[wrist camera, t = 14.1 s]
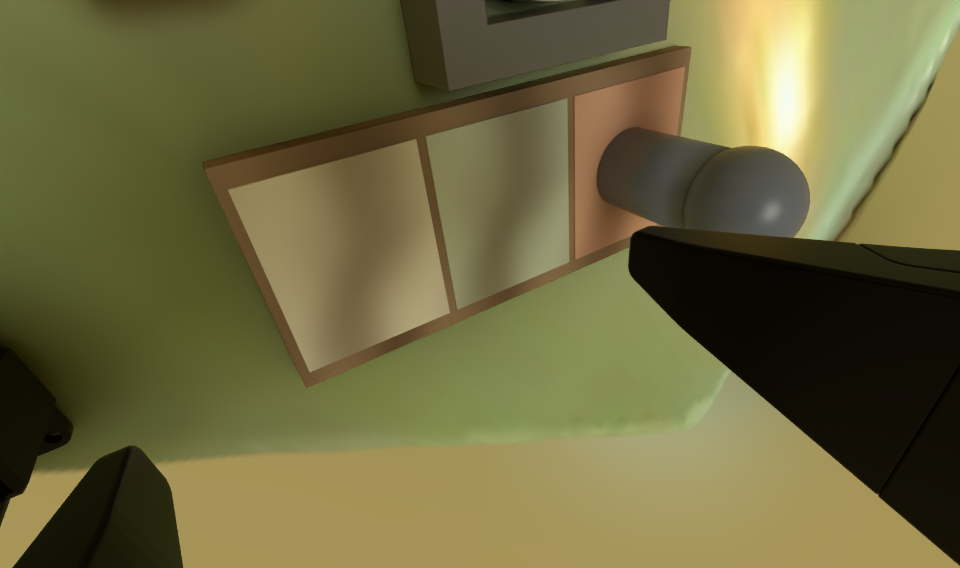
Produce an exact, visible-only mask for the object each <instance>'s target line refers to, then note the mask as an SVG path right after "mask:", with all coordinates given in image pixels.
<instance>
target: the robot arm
mask: <svg viewBox="0 0 960 568" xmlns="http://www.w3.org/2000/svg"><path fill="white" fill-rule="evenodd" d="M628 268H629V272H630V275H631V276H632V278H633V279H634V280H635V281H636V282H637V283H638V284H639V285H640V286H641V287H642V288H643V289H644V290H645V291H646V292H647V293H648V294H649V295H650V296H651V297H652V299H653V300H654V301H655V302H656V303H657V304H658V305H659V306H660V307H661V308H662V309H663V310H664V311H665V312H666V313H667V314H668V315H669V316H670V317H671V318H672V319H673V320H674V321H675V322H676V323H677V324H678V325H679V326H680V327H681V328H682V329H683V330H684V331H686V332H687V333H688V334H689V335H690V336H691V337H692V338H694V339H695V340H696V341H697V342H698V343H699V344H701V345H702V346H703V347H704V348H705V349H706V350H708V351H709V352H710V353H711V354H712V355H714V356H715V357H716V358H717V359H718V360H719V361H721V362H722V363H723V364H724V365H725V366H726V367H728V368H729V369H730V370H731V371H732V372H733V373H735V374H736V375H737V376H738V377H740V378H741V379H742V380H743V381H744V382H745V383H746V384H748V385H749V386H750V387H751V388H753V389H754V390H755V391H756V392H757V393H758V394H760V396H762V397H763V398H764V399H765V400H766V401H768V402H769V403H770V404H771V405H772V406H773V407H775V408H776V409H777V410H778V411H780V412H781V413H782V414H783V415H784V416H785V417H786V418H788V419H789V420H790V421H791V422H792V423H793V424H795V425H796V426H797V427H798V428H799V429H800V430H802V431H803V432H804V433H805V434H806V435H808V436H809V437H810V438H811V439H812V440H813V441H814V442H816V443H817V444H818V445H819V446H821V447H822V448H823V449H824V450H825V451H826V452H827V453H829V454H830V455H831V456H832V457H833V458H834V459H836V460H837V461H838V462H839V463H840V464H842V465H843V466H844V467H845V468H846V469H847V470H849V471H850V472H851V473H852V474H853V475H854V476H856V477H857V478H858V479H859V480H860V481H862V482H863V483H864V484H865V485H866V486H867V487H868V488H870V489H871V490H872V491H873V492H874V493H876V494H878V496H879V497H880V498H881V499H882V500H883V501H884V502H885V503H887V504H888V505H889V506H890V507H891V508H893V509H894V510H895V511H896V512H897V513H898V514H899V515H901V516H902V517H903V518H904V519H906V520H907V521H908V522H909V523H910V524H911V525H912V526H914V527H915V528H916V529H917V530H918V531H919V532H921V533H922V534H923V535H924V536H925V537H926V538H928V539H929V540H930V541H931V542H932V543H934V544H935V545H936V546H937V547H938V548H939V549H941V550H942V551H943V552H944V553H945V554H946V555H948V556H949V557H950V558H951V559H952V560H953V561H955V562H956V563H957V564H958V565H959V566H960V251H957V250H941V249H940V250H939V249H924V248H910V247H897V246H884V245H872V244H859V245H858V244H856V243H848V242H836V241H825V240H813V239H801V238H790V237H778V236H766V235H755V234H743V233H731V232H720V231H708V230H696V229H685V228H673V227H661V226H647V227H645V228H642V229H640V230H638V231H635V232H634V233H633V234H632V236H631V238H630V248H629V262H628ZM55 403H56V398H55V397H54V396H53V395H52V394H51V393H50V391H49V390H48V389H47V388H46V387H45V386H44V385H43V384H42V383H41V382H40V381H39V379H38V378H37V377H36V376H35V375H34V374H33V373H32V372H31V371H30V370H29V369H28V367H27V366H26V365H25V364H24V363H23V362H22V361H21V360H20V359H19V358H18V356H17V355H16V354H15V353H14V352H13V351H12V350H11V349H10V348H7V347H4V346H1V345H0V526H1V523H2V520H3V518H4V515H5V512H6V509H7V507H8V504H9V501H10V498H13V497H15V496H18V495H20V494H22V493H23V492H24V491H25V489H26V487H27V485H28V483H29V480H30V477H31V474H32V471H33V468H34V465H35V462H36V459H37V456H39V455H42V454H44V453H47V452H49V451H52V450H54V449H57V448H59V447H61V446H63V445H65V444H67V443H68V442H69V441H70V439H71V436H72V432H73V426H72V424H71V423H70V422H69V421H68V420H67V418H66V417H65V416H64V415H63V414H62V413H61V412H60V411H59V410H58V409H57V408H56V407H55ZM50 432H58V433H60V435H56V436H53V435H49V434H47V433H50ZM13 568H183V564H182V557H181V550H180V543H179V537H178V530H177V525H176V518H175V511H174V504H173V498H172V492H171V489H170V486H169V484H168V482H167V480H166V478H165V477H164V476H163V475H162V473H161V472H160V471H159V470H158V469H157V468H156V466H155V465H154V464H153V463H152V462H151V460H150V459H149V458H148V457H147V456H146V454H145V453H144V452H143V451H142V450H141V449H140V448H138V447H137V446H127V447H124V448H122V449H120V450H117V451H115V452H113V453H110V454H108V455H105V456H103V457H101V458H100V459H98V460H97V461H96V462H95V463H94V464H93V466H92V467H91V468H90V470H89V471H88V472H87V473H86V475H85V476H84V477H83V479H82V480H81V481H80V482H79V484H78V485H77V486H76V487H75V489H74V490H73V491H72V493H71V494H70V496H68V498H67V499H66V500H65V502H64V503H63V504H62V505H61V507H60V508H59V509H58V511H57V512H56V513H55V514H54V515H53V517H52V518H51V519H50V521H49V522H48V523H47V524H46V526H45V527H44V528H43V530H42V531H41V532H40V533H39V535H38V536H37V537H36V538H35V540H34V541H33V542H32V544H31V545H30V546H29V547H28V549H27V550H26V551H25V552H24V554H23V555H22V556H21V558H20V559H19V560H18V562H17V563H16V564H15V565H14V567H13Z"/></svg>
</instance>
